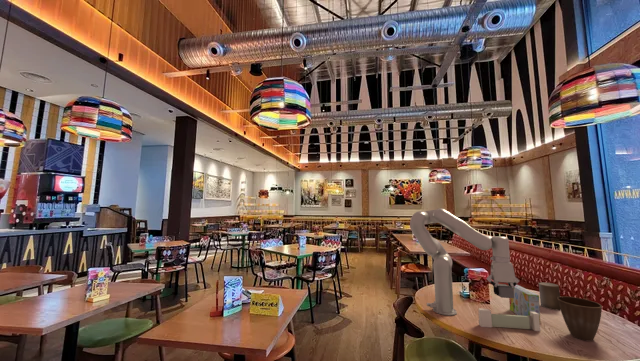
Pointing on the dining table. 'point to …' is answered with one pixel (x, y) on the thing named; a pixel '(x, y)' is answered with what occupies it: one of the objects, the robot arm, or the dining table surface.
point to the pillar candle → (549, 295)
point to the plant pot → (580, 316)
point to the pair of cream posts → (486, 319)
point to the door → (511, 321)
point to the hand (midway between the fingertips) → (503, 294)
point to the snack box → (524, 302)
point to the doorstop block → (505, 291)
